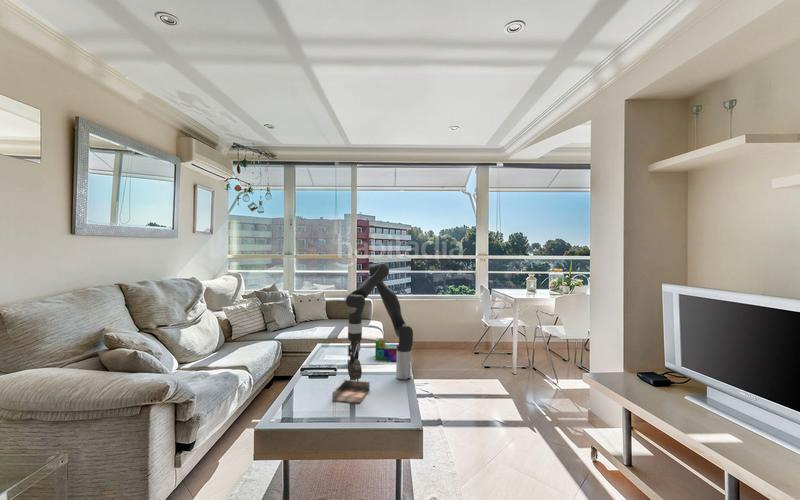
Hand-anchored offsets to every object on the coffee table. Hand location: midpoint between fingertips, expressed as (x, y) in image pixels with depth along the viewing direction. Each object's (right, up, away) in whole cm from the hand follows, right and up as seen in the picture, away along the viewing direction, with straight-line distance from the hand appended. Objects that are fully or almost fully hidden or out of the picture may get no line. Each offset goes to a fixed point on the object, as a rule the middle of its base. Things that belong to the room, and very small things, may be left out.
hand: (354, 361), depth 210 cm
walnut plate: (-2, -19, +1) cm, 19 cm away
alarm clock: (0, -11, 0) cm, 11 cm away
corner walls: (-2, -19, +1) cm, 19 cm away
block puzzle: (+20, -19, +71) cm, 76 cm away
